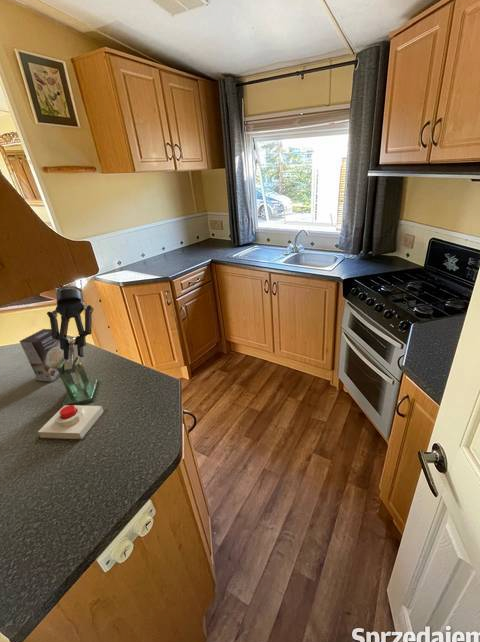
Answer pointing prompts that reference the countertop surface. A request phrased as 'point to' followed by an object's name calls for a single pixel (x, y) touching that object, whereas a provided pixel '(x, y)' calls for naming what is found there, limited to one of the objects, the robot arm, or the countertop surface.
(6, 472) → the countertop surface
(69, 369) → the lever
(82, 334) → the robot arm
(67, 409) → the stop button
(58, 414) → the white button base
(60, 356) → the coffee box
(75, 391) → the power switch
